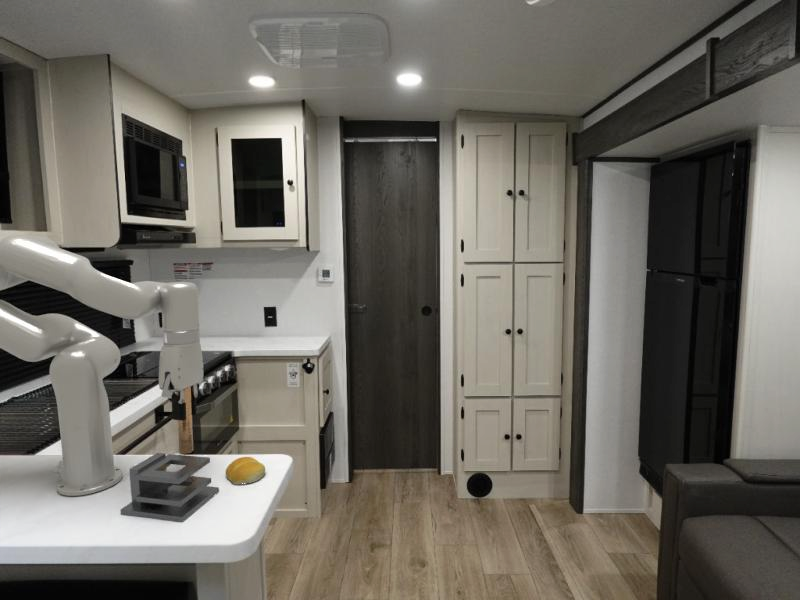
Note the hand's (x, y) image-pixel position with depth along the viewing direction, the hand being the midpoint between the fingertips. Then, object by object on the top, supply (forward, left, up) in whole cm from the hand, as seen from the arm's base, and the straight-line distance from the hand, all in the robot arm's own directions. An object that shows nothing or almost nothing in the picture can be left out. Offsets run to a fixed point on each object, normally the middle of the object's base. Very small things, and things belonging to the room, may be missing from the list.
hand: (184, 416), depth 114 cm
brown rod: (0, 0, -8) cm, 8 cm away
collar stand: (+6, -12, -14) cm, 19 cm away
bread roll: (+13, +2, -14) cm, 20 cm away
